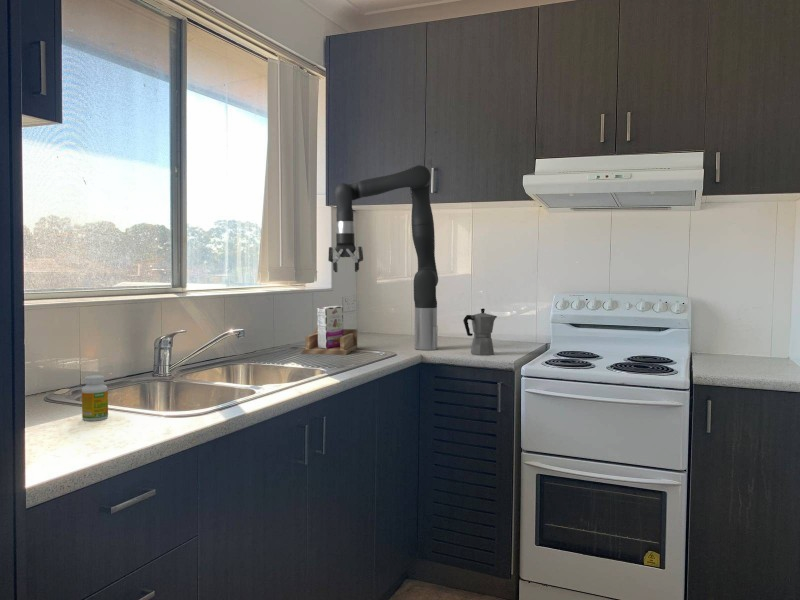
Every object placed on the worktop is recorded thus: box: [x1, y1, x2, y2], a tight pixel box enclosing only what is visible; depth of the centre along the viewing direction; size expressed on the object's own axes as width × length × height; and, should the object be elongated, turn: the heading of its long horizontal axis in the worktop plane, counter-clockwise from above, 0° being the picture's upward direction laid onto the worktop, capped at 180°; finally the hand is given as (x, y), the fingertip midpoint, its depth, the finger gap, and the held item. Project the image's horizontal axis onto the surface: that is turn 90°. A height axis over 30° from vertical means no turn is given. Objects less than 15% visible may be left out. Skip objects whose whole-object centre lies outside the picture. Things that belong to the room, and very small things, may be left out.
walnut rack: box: [301, 327, 358, 356], centre depth 270 cm, size 18×19×8 cm
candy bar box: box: [316, 305, 344, 349], centre depth 270 cm, size 11×5×16 cm, turn 147°
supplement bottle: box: [81, 374, 109, 422], centre depth 153 cm, size 5×5×10 cm
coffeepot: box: [462, 307, 498, 356], centre depth 263 cm, size 15×9×18 cm, turn 117°
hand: (346, 271), depth 278 cm, fingers open, 8 cm apart
